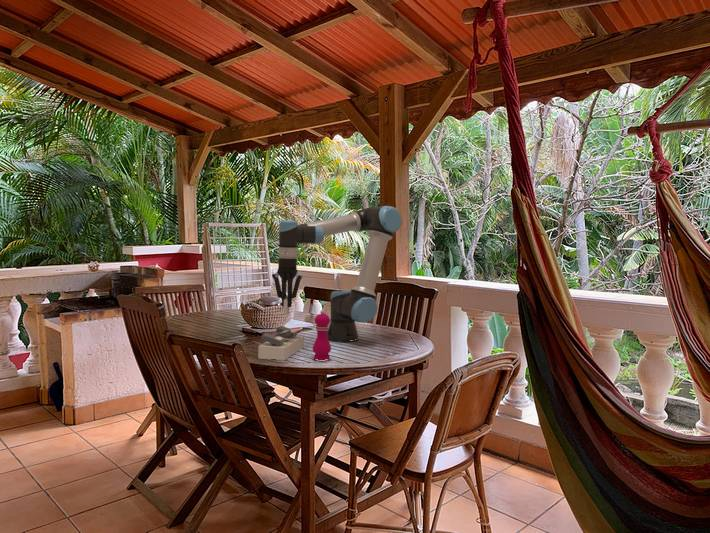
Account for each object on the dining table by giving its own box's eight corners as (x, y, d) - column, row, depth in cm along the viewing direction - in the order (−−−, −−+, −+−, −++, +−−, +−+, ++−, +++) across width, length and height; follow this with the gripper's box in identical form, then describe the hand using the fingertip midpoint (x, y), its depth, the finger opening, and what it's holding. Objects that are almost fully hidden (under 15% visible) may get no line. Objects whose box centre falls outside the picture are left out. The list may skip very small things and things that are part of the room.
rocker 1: (283, 343, 220) (284, 338, 220) (279, 345, 215) (280, 340, 215) (265, 337, 222) (267, 331, 221) (260, 339, 217) (262, 334, 216)
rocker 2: (291, 334, 228) (290, 329, 228) (287, 337, 223) (286, 331, 223) (274, 338, 229) (272, 333, 229) (269, 340, 225) (268, 335, 225)
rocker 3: (296, 335, 236) (297, 330, 235) (292, 338, 231) (294, 333, 230) (279, 329, 237) (281, 325, 237) (275, 332, 232) (276, 327, 232)
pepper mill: (330, 357, 220) (331, 308, 219) (330, 362, 213) (331, 311, 211) (313, 357, 220) (313, 308, 218) (312, 361, 213) (313, 311, 211)
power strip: (308, 344, 243) (308, 331, 242) (284, 360, 214) (284, 345, 213) (284, 343, 245) (284, 330, 245) (258, 358, 216) (258, 343, 216)
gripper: (269, 257, 221) (268, 314, 222) (299, 258, 218) (298, 317, 220) (276, 256, 228) (274, 312, 230) (305, 258, 225) (304, 314, 227)
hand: (286, 314), depth 225 cm, fingers closed
